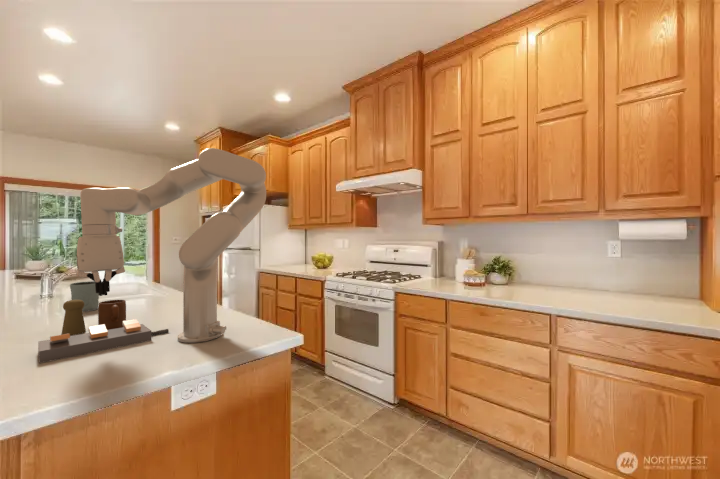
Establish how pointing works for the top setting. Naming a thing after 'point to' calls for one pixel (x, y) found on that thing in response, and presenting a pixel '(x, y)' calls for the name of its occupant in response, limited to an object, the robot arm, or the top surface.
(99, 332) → the middle rocker
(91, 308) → the grey cup
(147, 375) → the top surface
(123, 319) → the mug
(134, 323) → the block
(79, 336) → the power strip
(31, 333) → the top surface
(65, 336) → the rocker
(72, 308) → the pepper mill
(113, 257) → the robot arm
